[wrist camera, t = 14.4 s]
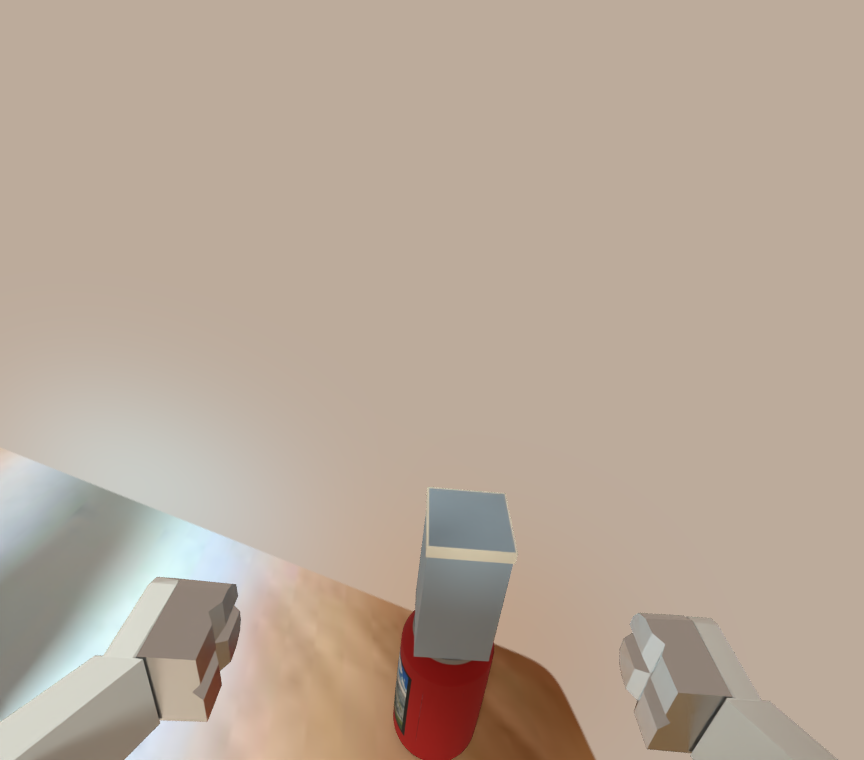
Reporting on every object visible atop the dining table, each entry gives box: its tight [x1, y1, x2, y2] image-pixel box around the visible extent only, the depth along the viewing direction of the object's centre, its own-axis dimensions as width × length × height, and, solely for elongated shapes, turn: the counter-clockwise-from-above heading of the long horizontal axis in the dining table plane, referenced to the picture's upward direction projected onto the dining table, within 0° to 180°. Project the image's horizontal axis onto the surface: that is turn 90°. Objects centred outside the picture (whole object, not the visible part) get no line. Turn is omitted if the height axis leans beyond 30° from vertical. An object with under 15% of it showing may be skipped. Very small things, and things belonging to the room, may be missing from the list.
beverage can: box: [393, 610, 494, 760], centre depth 37 cm, size 7×7×12 cm
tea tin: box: [414, 487, 518, 661], centre depth 32 cm, size 5×5×10 cm
